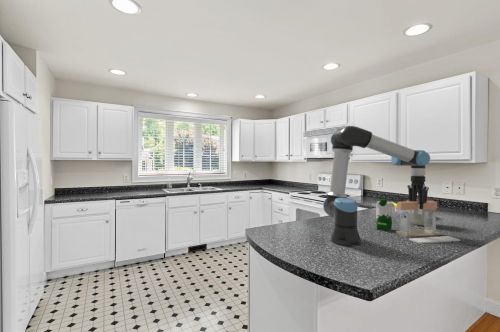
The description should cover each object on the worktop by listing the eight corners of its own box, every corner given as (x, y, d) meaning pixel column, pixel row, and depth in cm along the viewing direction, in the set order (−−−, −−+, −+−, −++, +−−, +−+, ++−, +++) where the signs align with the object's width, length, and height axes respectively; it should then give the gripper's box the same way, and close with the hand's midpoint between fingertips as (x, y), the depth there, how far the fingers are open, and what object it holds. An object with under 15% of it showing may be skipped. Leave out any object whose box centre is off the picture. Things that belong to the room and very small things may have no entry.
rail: (401, 210, 151) (401, 202, 151) (397, 209, 154) (397, 201, 154) (437, 209, 156) (437, 202, 156) (432, 208, 159) (432, 201, 159)
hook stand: (406, 236, 149) (406, 214, 149) (395, 233, 157) (395, 212, 157) (439, 235, 154) (440, 213, 154) (428, 231, 161) (428, 211, 161)
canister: (409, 226, 176) (409, 196, 176) (403, 220, 193) (403, 193, 193) (440, 228, 170) (440, 197, 170) (431, 222, 187) (431, 194, 187)
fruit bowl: (437, 217, 209) (437, 203, 209) (422, 221, 194) (422, 206, 194) (401, 212, 232) (401, 199, 232) (385, 215, 217) (386, 201, 217)
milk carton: (374, 229, 166) (375, 199, 166) (379, 227, 173) (379, 197, 173) (389, 232, 160) (389, 200, 160) (393, 229, 167) (393, 199, 167)
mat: (419, 243, 136) (419, 242, 136) (408, 239, 143) (408, 238, 143) (460, 241, 141) (460, 239, 141) (448, 237, 148) (448, 236, 148)
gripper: (435, 176, 148) (434, 216, 148) (412, 175, 164) (411, 211, 164) (424, 175, 146) (423, 216, 146) (402, 174, 162) (401, 211, 162)
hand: (417, 213), depth 155 cm, fingers closed on rail, 3 cm apart
